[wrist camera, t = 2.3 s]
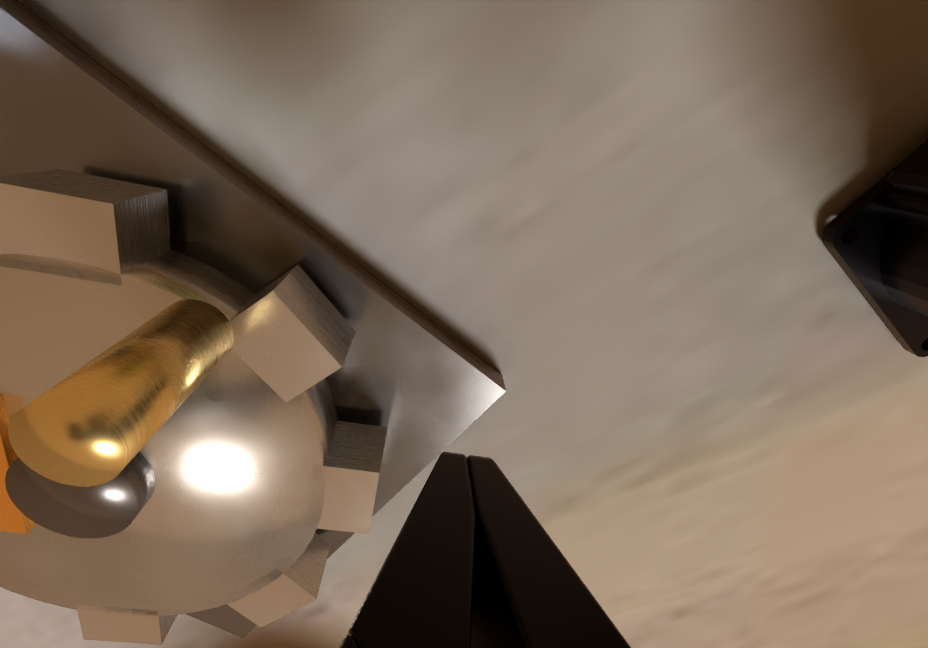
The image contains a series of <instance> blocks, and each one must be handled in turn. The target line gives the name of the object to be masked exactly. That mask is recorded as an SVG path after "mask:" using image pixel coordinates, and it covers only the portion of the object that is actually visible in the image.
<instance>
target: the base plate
mask: <svg viewBox="0 0 928 648" xmlns="http://www.w3.org/2000/svg"><path fill="white" fill-rule="evenodd" d="M54 169H63V170H68V171H74V172H79V173H84V174H89V175H95V176H100V177H105V178H110V179H115V180H121V181H126V182H131V183H136V184H141V185H147V186H152V187H157V188H162V189H167V194H168V211H169V227H170V244H171V250H173V251H176V252H178V253H181V254H184V255H187V256H189V257H191V258H193V259H195V260H197V261H199V262H201V263H203V264H206V265H208V266H210V267H212V268H214V269H216V270H218V271H219V272H221V273H223V274H224V275H226V276H228V277H229V278H231V279H232V280H234V281H236V282H237V283H239V284H241V285H242V286H244V287H245V288H246V289H248V290H249V291H250V292H252V293H253V294H254V295H255V294H257V293H258V292H260V291H261V290H263V289H264V288H265V287H267V286H268V285H270V284H271V283H272V282H274V281H275V280H277V279H278V278H280V277H281V276H282V275H284V274H285V273H287V272H288V271H289V270H291V269H292V268H294V267H295V266H296V265H299V266H300V267H301V268H302V270H303V271H304V272H305V273H306V274H307V275H308V277H309V278H310V279H311V280H312V281H313V282H314V283H315V285H316V286H317V287H318V288H319V289H320V290H321V292H322V293H323V294H324V295H325V296H326V297H327V299H328V300H329V301H330V302H331V303H332V304H333V306H334V307H335V308H336V309H337V310H338V311H339V313H340V314H341V315H342V316H343V317H344V318H345V320H346V321H347V322H348V323H349V324H350V325H351V327H352V328H353V329H354V330H355V331H356V333H355V335H354V338H353V340H352V343H351V345H350V348H349V351H348V353H347V356H346V358H345V361H344V363H343V366H342V368H340V369H338V370H337V371H335V372H334V373H332V374H330V375H329V376H327V377H326V378H325V379H326V381H327V383H328V386H329V388H330V390H331V393H332V397H333V400H334V403H335V407H336V410H337V417H338V421H343V422H351V423H358V424H365V425H373V426H380V427H387V431H386V437H385V443H384V449H383V455H382V461H381V467H380V473H379V479H378V484H377V490H376V496H375V502H374V508H373V514H372V516H373V515H374V514H376V513H377V512H378V511H379V510H380V509H381V508H382V507H383V506H384V505H385V504H386V503H387V502H388V501H389V500H390V499H392V498H393V497H394V496H395V495H396V494H397V493H398V492H399V491H400V490H401V489H402V488H403V487H404V486H405V485H406V484H408V483H409V482H410V481H411V480H412V479H413V478H414V477H415V476H416V475H417V474H418V473H419V472H420V471H421V470H423V469H424V468H425V467H426V466H427V465H428V464H429V463H430V462H431V461H432V460H433V459H434V458H435V457H436V456H437V455H439V454H440V453H441V452H442V451H443V450H444V449H445V448H446V447H447V446H448V445H449V444H450V443H451V442H452V441H453V440H455V439H456V438H457V437H458V436H459V435H460V434H461V433H462V432H463V431H464V430H465V429H466V428H467V427H468V426H469V425H471V424H472V423H473V422H474V421H475V420H476V419H477V418H478V417H479V416H480V415H481V414H482V413H483V412H484V411H486V410H487V409H488V408H489V407H490V406H491V405H492V404H493V403H494V402H495V401H496V400H497V399H498V398H499V397H500V396H502V395H503V394H504V393H505V392H506V389H505V385H504V381H503V377H502V375H501V374H500V373H499V372H498V371H496V370H495V369H494V368H492V367H491V366H490V365H489V364H487V363H486V362H485V361H483V360H482V359H481V358H479V357H478V356H477V355H476V354H474V353H473V352H472V351H470V350H469V349H468V348H466V347H465V346H464V345H463V344H461V343H460V342H459V341H457V340H456V339H455V338H454V337H452V336H451V335H450V334H448V333H447V332H446V331H444V330H443V329H442V328H441V327H439V326H438V325H437V324H435V323H434V322H433V321H431V320H430V319H429V318H428V317H426V316H425V315H424V314H422V313H421V312H420V311H419V310H417V309H416V308H415V307H413V306H412V305H411V304H409V303H408V302H407V301H406V300H404V299H403V298H402V297H400V296H399V295H398V294H396V293H395V292H394V291H393V290H391V289H390V288H389V287H387V286H386V285H385V284H383V283H382V282H381V281H380V280H378V279H377V278H376V277H374V276H373V275H372V274H371V273H369V272H368V271H367V270H365V269H364V268H363V267H361V266H360V265H359V264H358V263H356V262H355V261H354V260H352V259H351V258H350V257H348V256H347V255H346V254H345V253H343V252H342V251H341V250H339V249H338V248H337V247H336V246H334V245H333V244H332V243H330V242H329V241H328V240H326V239H325V238H324V237H323V236H321V235H320V234H319V233H317V232H316V231H315V230H313V229H312V228H311V227H310V226H308V225H307V224H306V223H304V222H303V221H302V220H301V219H299V218H298V217H297V216H295V215H294V214H293V213H291V212H290V211H289V210H288V209H286V208H285V207H284V206H282V205H281V204H280V203H278V202H277V201H276V200H275V199H273V198H272V197H271V196H269V195H268V194H267V193H266V192H264V191H263V190H262V189H260V188H259V187H258V186H256V185H255V184H254V183H253V182H251V181H250V180H249V179H247V178H246V177H245V176H243V175H242V174H241V173H240V172H238V171H237V170H236V169H234V168H233V167H232V166H231V165H229V164H228V163H227V162H225V161H224V160H223V159H221V158H220V157H219V156H218V155H216V154H215V153H214V152H212V151H211V150H210V149H208V148H207V147H206V146H205V145H203V144H202V143H201V142H199V141H198V140H197V139H195V138H194V137H193V136H192V135H190V134H189V133H188V132H186V131H185V130H184V129H183V128H181V127H180V126H179V125H177V124H176V123H175V122H173V121H172V120H171V119H170V118H168V117H167V116H166V115H164V114H163V113H162V112H160V111H159V110H158V109H157V108H155V107H154V106H153V105H151V104H150V103H149V102H148V101H146V100H145V99H144V98H142V97H141V96H140V95H138V94H137V93H136V92H135V91H133V90H132V89H131V88H129V87H128V86H127V85H125V84H124V83H123V82H122V81H120V80H119V79H118V78H116V77H115V76H114V75H113V74H111V73H110V72H109V71H107V70H106V69H105V68H103V67H102V66H101V65H100V64H98V63H97V62H96V61H94V60H93V59H92V58H90V57H89V56H88V55H87V54H85V53H84V52H83V51H81V50H80V49H79V48H78V47H76V46H75V45H74V44H72V43H71V42H70V41H68V40H67V39H66V38H65V37H63V36H62V35H61V34H59V33H58V32H57V31H55V30H54V29H53V28H52V27H50V26H49V25H48V24H46V23H45V22H44V21H43V20H41V19H40V18H39V17H37V16H36V15H35V14H33V13H32V12H31V11H30V10H28V9H27V8H26V7H24V6H23V5H22V4H20V3H19V2H18V1H17V0H0V177H3V176H10V175H18V174H25V173H32V172H40V171H47V170H54ZM315 533H316V534H317V535H318V536H320V537H321V538H322V539H323V540H324V541H325V542H327V543H328V544H329V545H330V548H329V552H328V556H327V558H329V557H330V556H331V555H332V554H333V553H334V552H335V551H336V550H337V549H338V548H339V547H340V546H341V545H342V544H343V543H345V542H346V541H347V540H348V539H349V538H350V537H351V536H352V535H353V534H354V533H355V532H346V531H336V530H326V529H316V531H315ZM185 614H187V615H189V616H192V617H194V618H197V619H199V620H201V621H204V622H206V623H209V624H211V625H214V626H216V627H218V628H221V629H223V630H226V631H228V632H231V633H233V634H235V635H238V636H240V637H244V636H245V635H246V634H247V633H248V632H250V631H251V630H252V629H253V628H254V627H255V626H256V624H255V623H253V622H252V621H250V620H249V619H247V618H246V617H245V616H243V615H242V614H240V613H239V612H237V611H236V610H234V609H233V608H231V607H230V606H229V605H227V604H225V605H222V606H219V607H216V608H211V609H207V610H202V611H198V612H192V613H185Z"/></svg>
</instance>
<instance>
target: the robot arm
mask: <svg viewBox="0 0 928 648" xmlns="http://www.w3.org/2000/svg"><path fill="white" fill-rule="evenodd" d="M847 229H848V231H847V234H846V235H845V237H844V238H843V239H841V237H842V234H843V233H844V232H845V230H847ZM822 240H823V243H824V245H825V246H826V248H827V249H828V250H829V251H830V253H831V254H832V255H833V257H834V258H835V259H836V261H837V262H838V263H839V265H840V266H841V267H842V268H843V270H844V271H845V272H846V274H847V275H848V276H849V278H850V279H851V280H852V282H853V283H854V284H855V285H856V287H857V288H858V289H859V291H860V292H861V293H862V295H863V296H864V297H865V299H866V300H867V301H868V302H869V304H870V305H871V306H872V308H873V309H874V310H875V312H876V313H877V314H878V315H879V317H880V318H881V319H882V321H883V322H884V323H885V325H886V326H887V327H888V329H889V330H890V331H891V332H892V334H893V335H894V336H895V338H896V339H897V340H898V342H899V343H900V344H901V346H902V347H903V348H904V349H905V350H907V351H909V352H911V353H913V354H915V355H917V356H919V357H925V356H928V140H927V141H926V142H925V143H924V144H923V145H921V146H920V147H919V148H918V149H917V150H915V151H914V152H913V153H912V154H911V155H909V156H908V157H907V158H906V159H905V160H903V161H902V162H901V163H900V164H899V165H898V166H896V167H895V168H894V169H893V170H892V171H890V172H889V173H888V174H887V175H886V176H884V177H883V178H882V179H881V180H880V181H879V182H877V183H876V184H875V185H874V186H873V187H871V188H870V189H869V190H868V191H867V192H865V193H864V194H863V195H862V196H861V197H860V198H858V199H857V200H856V201H855V202H854V203H852V204H851V205H850V206H849V207H848V208H846V209H845V210H844V211H843V212H842V213H841V214H839V215H838V216H837V217H836V218H835V219H833V220H832V221H831V222H830V223H829V224H828V225H827V227H826V228H825V230H824V232H823V238H822ZM339 648H631V647H630V646H629V644H628V643H627V642H626V640H625V639H624V637H623V636H622V635H621V633H620V632H619V631H618V629H617V628H616V627H615V625H614V624H613V622H612V621H611V620H610V618H609V617H608V616H607V614H606V613H605V612H604V610H603V609H602V607H601V606H600V605H599V603H598V602H597V601H596V599H595V598H594V597H593V595H592V594H591V592H590V591H589V590H588V588H587V587H586V586H585V584H584V583H583V582H582V580H581V579H580V577H579V576H578V575H577V573H576V572H575V571H574V569H573V568H572V567H571V565H570V564H569V562H568V561H567V560H566V558H565V557H564V556H563V554H562V553H561V552H560V550H559V549H558V547H557V546H556V545H555V543H554V542H553V541H552V539H551V538H550V537H549V535H548V534H547V532H546V531H545V530H544V528H543V527H542V526H541V524H540V523H539V522H538V520H537V519H536V517H535V516H534V515H533V513H532V512H531V511H530V509H529V508H528V507H527V505H526V504H525V502H524V501H523V500H522V498H521V497H520V496H519V494H518V493H517V492H516V490H515V489H514V487H513V486H512V485H511V483H510V482H509V481H508V479H507V478H506V477H505V475H504V474H503V472H502V471H501V470H500V468H499V467H498V466H497V464H496V463H495V462H494V460H492V459H491V458H488V457H480V456H473V455H470V456H468V457H467V458H466V456H465V455H463V454H458V453H450V452H443V453H442V454H441V455H440V456H439V458H438V460H437V462H436V464H435V466H434V468H433V470H432V472H431V474H430V476H429V478H428V479H427V481H426V483H425V485H424V487H423V489H422V491H421V493H420V495H419V497H418V499H417V501H416V502H415V504H414V506H413V508H412V510H411V512H410V514H409V516H408V518H407V520H406V522H405V524H404V526H403V527H402V529H401V531H400V533H399V535H398V537H397V539H396V541H395V543H394V545H393V547H392V549H391V550H390V552H389V554H388V556H387V558H386V560H385V562H384V564H383V566H382V568H381V570H380V572H379V573H378V575H377V577H376V579H375V581H374V583H373V585H372V587H371V589H370V591H369V593H368V595H367V596H366V598H365V600H364V602H363V604H362V606H361V608H360V610H359V612H358V614H357V616H356V618H355V620H354V621H353V623H352V625H351V627H350V629H349V632H348V635H347V636H346V637H345V638H344V640H343V642H342V644H341V645H340V647H339Z"/></svg>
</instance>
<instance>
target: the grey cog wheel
mask: <svg viewBox="0 0 928 648" xmlns="http://www.w3.org/2000/svg"><path fill="white" fill-rule="evenodd" d="M355 333H356V331H355V330H354V329H353V328H352V327H351V325H350V324H349V323H348V322H347V321H346V320H345V318H344V317H343V316H342V315H341V314H340V313H339V311H338V310H337V309H336V308H335V307H334V306H333V304H332V303H331V302H330V301H329V300H328V299H327V297H326V296H325V295H324V294H323V293H322V292H321V290H320V289H319V288H318V287H317V286H316V285H315V283H314V282H313V281H312V280H311V279H310V278H309V277H308V275H307V274H306V273H305V272H304V271H303V270H302V268H301V267H300V266H299V265H296V266H295V267H294V268H292V269H291V270H289V271H288V272H287V273H285V274H284V275H282V276H281V277H280V278H278V279H277V280H275V281H274V282H272V283H271V284H270V285H268V286H267V287H265V288H264V289H263V290H261V291H260V292H258V293H257V294H255V295H254V294H253V293H252V292H250V291H249V290H248V289H246V288H245V287H244V286H242V285H241V284H239V283H237V282H236V281H234V280H232V279H231V278H229V277H228V276H226V275H224V274H223V273H221V272H219V271H218V270H216V269H214V268H212V267H210V266H208V265H206V264H203V263H201V262H199V261H197V260H195V259H193V258H191V257H189V256H187V255H184V254H181V253H178V252H176V251H173V250H171V244H170V227H169V211H168V194H167V189H162V188H157V187H152V186H147V185H141V184H136V183H131V182H126V181H121V180H115V179H110V178H105V177H100V176H95V175H89V174H84V173H79V172H74V171H68V170H63V169H54V170H47V171H40V172H32V173H25V174H18V175H10V176H3V177H0V587H2V588H4V589H7V590H9V591H12V592H15V593H18V594H21V595H24V596H27V597H30V598H33V599H35V600H39V601H43V602H46V603H50V604H54V605H58V606H62V607H66V608H71V609H76V610H77V611H78V615H79V620H80V624H81V629H82V633H83V638H84V639H85V640H100V641H115V642H129V643H144V644H158V645H162V643H163V641H164V639H165V637H166V635H167V634H168V632H169V630H170V628H171V626H172V624H173V622H174V620H175V618H176V616H177V615H178V614H185V613H192V612H198V611H202V610H207V609H211V608H216V607H219V606H222V605H225V604H227V605H229V606H230V607H231V608H233V609H234V610H236V611H237V612H239V613H240V614H242V615H243V616H245V617H246V618H247V619H249V620H250V621H252V622H253V623H255V624H256V625H258V626H259V627H263V626H265V625H267V624H269V623H271V622H273V621H275V620H277V619H279V618H281V617H283V616H285V615H286V614H288V613H290V612H292V611H294V610H296V609H298V608H300V607H302V606H304V605H306V604H308V603H310V602H312V601H314V600H316V599H317V595H318V591H319V587H320V583H321V579H322V575H323V571H324V567H325V564H326V560H327V556H328V552H329V548H330V545H329V544H328V543H327V542H325V541H324V540H323V539H322V538H321V537H320V536H318V535H317V534H316V533H315V531H316V529H326V530H336V531H346V532H355V533H365V534H369V532H370V526H371V520H372V514H373V508H374V502H375V496H376V490H377V484H378V479H379V473H380V467H381V461H382V455H383V449H384V443H385V437H386V431H387V427H380V426H373V425H365V424H358V423H351V422H343V421H338V417H337V410H336V407H335V403H334V400H333V397H332V393H331V390H330V388H329V386H328V383H327V381H326V379H325V378H326V377H327V376H329V375H330V374H332V373H334V372H335V371H337V370H338V369H340V368H342V366H343V363H344V361H345V358H346V356H347V353H348V351H349V348H350V345H351V343H352V340H353V338H354V335H355Z"/></svg>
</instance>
